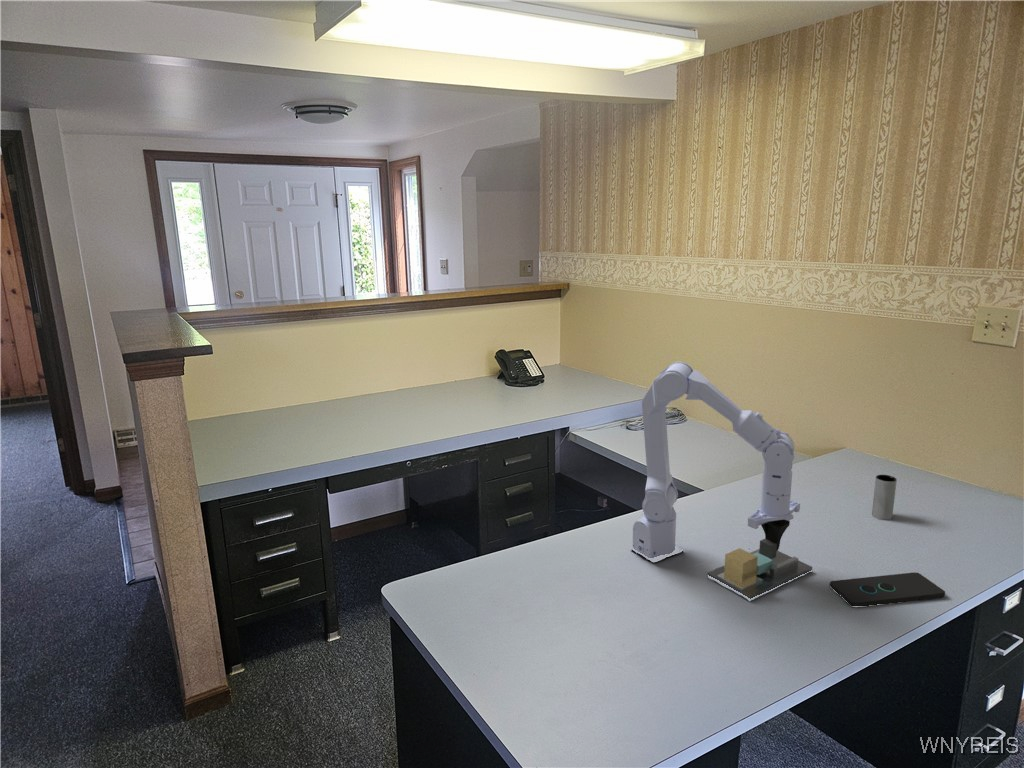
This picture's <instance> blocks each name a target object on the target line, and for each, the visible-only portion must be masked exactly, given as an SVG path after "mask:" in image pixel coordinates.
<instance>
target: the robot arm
mask: <svg viewBox="0 0 1024 768" xmlns="http://www.w3.org/2000/svg"><path fill="white" fill-rule="evenodd" d="M684 395H686V397H685V400H688V401H690V400H691V401H694V400H695V401H698V400H699V401H703V403H705V404H706V405H707V406H708V407H711V408H712V409H713V410H715V411H716V412H717V413H719V415H721V416H723V417H724V418H725V419H727V420H728V421H729V422H731V424H732V431H733V432H734V433H735V434H737V435H738V436H739V437H740V438H741V439H742V440H744V441H745V442H746V443H747V444H749V445H750V446H751V447H753V448H754V449H755V450H756V451H758V452H759V453H761V454H762V459H763V461H764V465H763V468H762V475H761V476H762V478H761V491H760V492H761V493H760V506H759V507H758V508H757V509H756V510H755V512H754V513H753V514H752V515H751V516H748V517H747V527H750V528H751V529H753V530H756V529H758V528H759V526H761V528H762V530H763V532H764V536H765V538H764V539H767V540H769V541H771V542H773V543H776V544H777V550H776V551H779V549H780V544H781V540H782V537H783V536H784V534H785V533H786V532H785V531H786V530H787V529H788V527H790V525H791V523H790V521H792V520H793V519H794V514H793V513H799V512H800V510H801V502H798V501H795V500H791V494H792V493H791V492H792V483H793V482H792V481H793V461H794V459H795V455H794V454H795V443H794V440H793V439H792V437H790V435H789V433H786V432H784V431H782V430H781V429H780V428H775V427H773V426H772V425H771V424H770V423H769V422H767V421H766V420H765V419H763V417H764V415H763V414H762V413H760V411H757V412H755V411H754V410H751V409H748V410H746V409H741V408H740V406H738V405H737V404H736V403H734V402H733V400H731V399H730V397H728V396H727V395H725V393H723V392H722V391H721V390H720V389H719V388H718V387H716V386H715V385H714V383H712V382H711V381H709V380H708V379H707V378H706V377H705V375H703V374H702V373H701V372H700V371H698V370H696V369H693V367H692V366H691V365H689V364H688V363H687V362H684V361H675V362H673V363H671V364H670V365H669V366H667V367H666V368H665V369H663V370H662V371H661V372H660V373H659V375H658V376H657V377H656V378H654V379H653V380H652V383H651V384H650V386H649V388H648V390H647V391H646V393H645V394H644V396H643V398H642V400H641V411H642V423H643V437H644V450H645V461H646V462H645V464H646V476H647V478H646V483H645V489H644V493H645V494H644V495H645V496H644V499H643V501H642V504H641V507H642V512H643V515H642V516H641V518H640V519H638V520H636V521H635V522H634V523H633V525H632V547H633V548H634V549H635V550H637V551H638V552H640V553H642V554H644V555H645V556H647V557H648V558H654V557H657V556H660V555H665V554H670V553H672V552H673V551H674V550H675V546H676V534H677V531H676V530H677V512H676V511H675V509H674V505H675V503H676V502H677V500H678V498H679V493H678V492H679V491H678V490H677V487H676V485H675V483H674V480H673V479H674V478H673V475H672V474H671V472H670V471H671V470H670V456H669V455H670V454H669V444H668V443H669V440H668V430H667V429H668V426H667V413H666V407H667V406H668V405H669V404H670V403H671V402H673V401H676V400H678V399H680V398H682V397H683V396H684Z"/></svg>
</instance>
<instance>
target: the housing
mask: <svg viewBox="0 0 1024 768" xmlns="http://www.w3.org/2000/svg"><path fill="white" fill-rule="evenodd" d="M757 560H758V557H757V556H755V555H753V554H751V552H749V551H746V550H745V549H743V548H737V549H735V550H732V551H730V552H727V553H725V555H724V565H725V569H724V576H725V577H727V578H729V579H731V580H732V581H734V582H736V583H738V584H740V585H744V584H746V583H748V582H750V581H753V580H755V579H756V575H757Z"/></svg>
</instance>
